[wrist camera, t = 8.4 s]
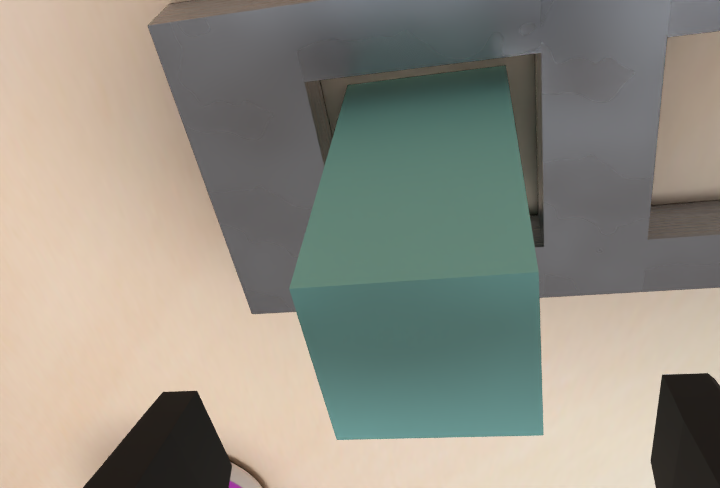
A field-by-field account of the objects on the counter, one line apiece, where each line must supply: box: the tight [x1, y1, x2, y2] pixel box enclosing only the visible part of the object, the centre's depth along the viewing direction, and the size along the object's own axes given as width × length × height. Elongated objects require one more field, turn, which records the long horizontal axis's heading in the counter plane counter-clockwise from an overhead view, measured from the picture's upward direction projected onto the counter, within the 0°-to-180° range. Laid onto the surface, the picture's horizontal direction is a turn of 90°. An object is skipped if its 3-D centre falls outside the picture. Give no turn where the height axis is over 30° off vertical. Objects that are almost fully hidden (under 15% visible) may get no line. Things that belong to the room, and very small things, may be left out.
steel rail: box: [148, 0, 720, 314], centre depth 17 cm, size 20×9×2 cm, turn 100°
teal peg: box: [289, 65, 543, 440], centre depth 15 cm, size 4×4×8 cm
